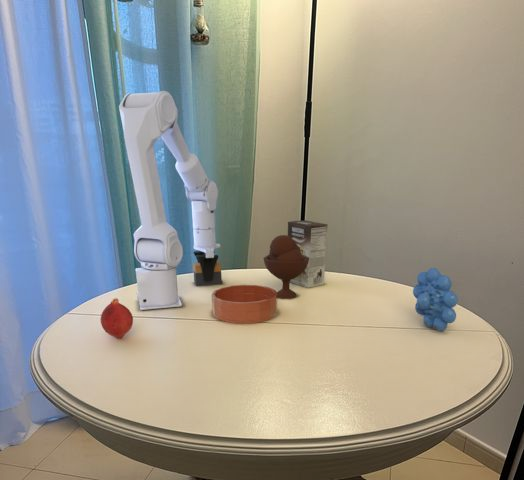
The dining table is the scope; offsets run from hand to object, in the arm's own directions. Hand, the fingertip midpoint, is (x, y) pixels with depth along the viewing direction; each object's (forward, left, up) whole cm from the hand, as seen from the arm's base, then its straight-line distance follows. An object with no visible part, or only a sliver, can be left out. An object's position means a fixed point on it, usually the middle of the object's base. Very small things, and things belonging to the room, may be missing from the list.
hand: (207, 279), depth 124 cm
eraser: (0, 0, -1) cm, 1 cm away
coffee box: (+26, -7, -1) cm, 27 cm away
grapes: (+37, -47, -1) cm, 60 cm away
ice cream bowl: (+17, -17, -1) cm, 24 cm away
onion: (-23, -35, -2) cm, 42 cm away
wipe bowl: (+4, -27, -1) cm, 27 cm away
